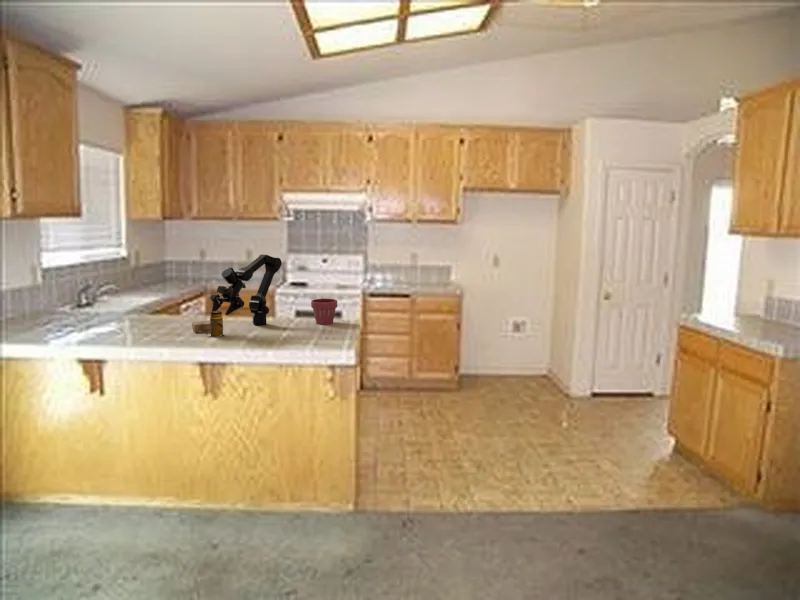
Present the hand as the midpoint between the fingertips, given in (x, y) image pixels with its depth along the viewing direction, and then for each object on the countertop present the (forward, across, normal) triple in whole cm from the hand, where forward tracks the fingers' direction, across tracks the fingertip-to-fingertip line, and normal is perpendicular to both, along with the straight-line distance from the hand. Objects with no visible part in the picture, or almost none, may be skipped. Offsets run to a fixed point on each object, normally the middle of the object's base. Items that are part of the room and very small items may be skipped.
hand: (219, 314), depth 325 cm
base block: (+6, -14, +9) cm, 17 cm away
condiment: (+10, 0, +5) cm, 11 cm away
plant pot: (-29, +28, +44) cm, 59 cm away
